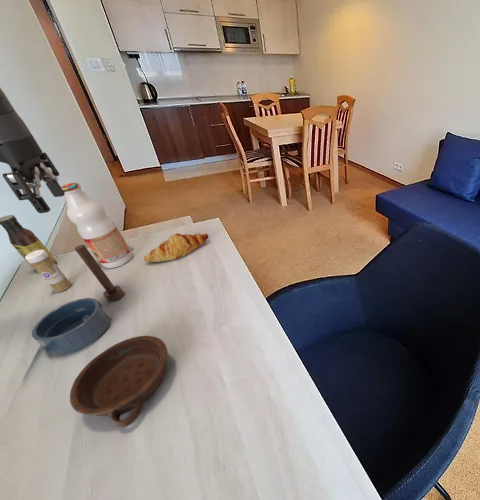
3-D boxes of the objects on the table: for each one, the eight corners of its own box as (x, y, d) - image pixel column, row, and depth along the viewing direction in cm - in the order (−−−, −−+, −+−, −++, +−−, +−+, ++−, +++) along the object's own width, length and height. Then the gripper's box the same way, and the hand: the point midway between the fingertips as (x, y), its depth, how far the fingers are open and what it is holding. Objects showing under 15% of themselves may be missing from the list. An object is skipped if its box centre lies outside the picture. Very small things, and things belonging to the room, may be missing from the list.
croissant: (152, 276, 102) (142, 265, 95) (142, 253, 105) (132, 241, 98) (215, 250, 110) (210, 238, 104) (204, 230, 114) (199, 217, 107)
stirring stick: (106, 304, 87) (66, 253, 76) (109, 294, 90) (72, 245, 80) (123, 298, 88) (86, 248, 78) (126, 289, 91) (91, 240, 81)
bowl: (39, 364, 71) (21, 349, 68) (59, 325, 81) (44, 309, 78) (105, 342, 75) (91, 326, 71) (116, 307, 85) (104, 291, 82)
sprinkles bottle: (53, 294, 93) (22, 260, 85) (56, 286, 96) (26, 252, 88) (71, 288, 94) (42, 254, 86) (73, 281, 98) (45, 247, 90)
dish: (167, 330, 76) (158, 317, 73) (185, 397, 61) (175, 384, 58) (85, 370, 69) (71, 356, 66) (82, 458, 53) (64, 445, 50)
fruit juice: (123, 267, 101) (72, 190, 85) (96, 270, 101) (39, 193, 85) (139, 251, 109) (94, 177, 93) (113, 253, 109) (64, 180, 93)
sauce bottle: (35, 267, 106) (-9, 218, 95) (57, 259, 110) (17, 210, 98) (36, 275, 102) (-10, 224, 91) (58, 266, 106) (17, 216, 94)
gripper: (3, 128, 68) (47, 193, 78) (-38, 148, 58) (19, 220, 67) (43, 125, 70) (81, 189, 80) (11, 144, 60) (59, 215, 69)
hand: (52, 203), depth 74 cm, fingers open, 8 cm apart
